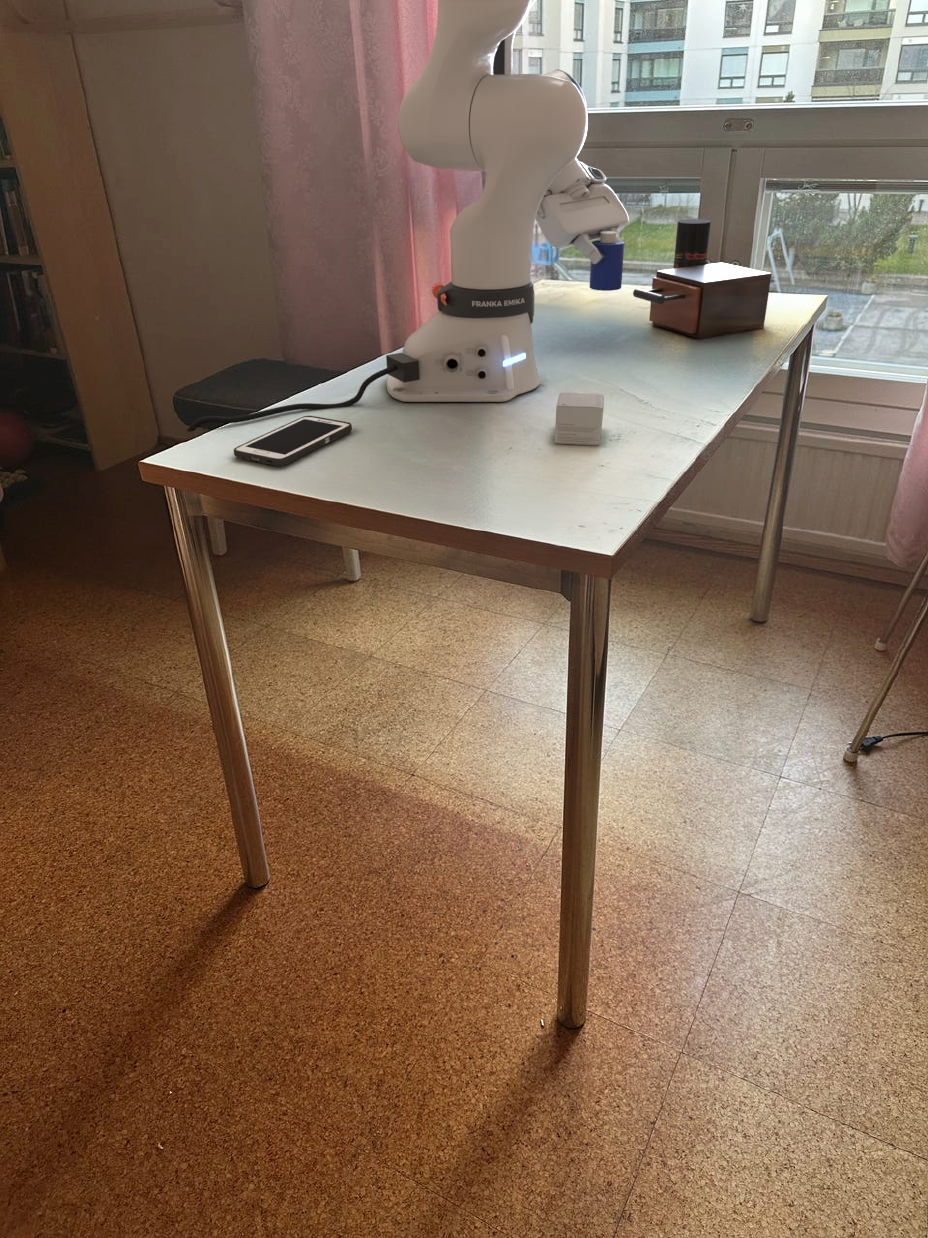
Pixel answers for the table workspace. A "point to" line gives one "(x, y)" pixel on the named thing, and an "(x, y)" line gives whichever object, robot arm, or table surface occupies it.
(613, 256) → the detergent bottle
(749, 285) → the drawer box
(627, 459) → the table surface
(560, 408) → the small box
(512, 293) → the robot arm
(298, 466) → the table surface
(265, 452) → the cell phone
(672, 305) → the wooden drawer
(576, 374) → the table surface
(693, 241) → the deodorant
